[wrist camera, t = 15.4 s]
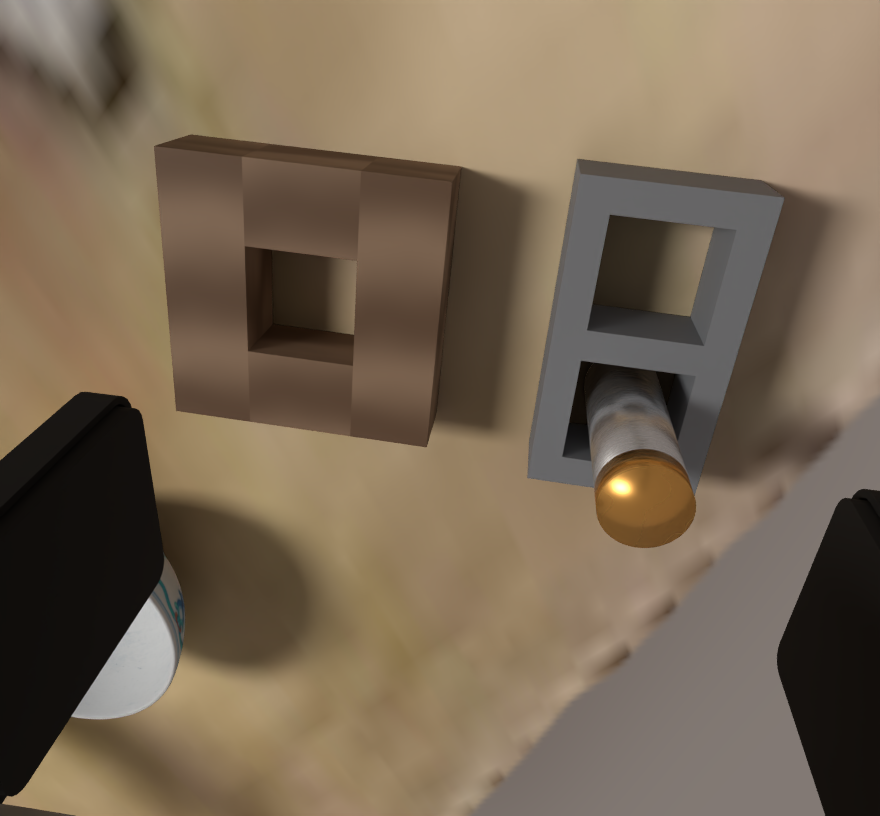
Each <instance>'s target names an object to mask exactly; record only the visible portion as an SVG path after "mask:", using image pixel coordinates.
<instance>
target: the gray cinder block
mask: <svg viewBox="0 0 880 816" xmlns="http://www.w3.org/2000/svg"><path fill="white" fill-rule="evenodd" d="M784 199H785V198H784V197H783V196H782V195H780V194H779V193H778V192H776V191H775V190H774V189H772V188H771V187H770V186H768V185H767V184H766V183H764V182H763V181H762V180H754V179H745V178H736V177H728V176H719V175H711V174H702V173H693V172H685V171H676V170H668V169H659V168H650V167H642V166H633V165H625V164H616V163H607V162H599V161H590V160H582V159H577V164H576V170H575V176H574V182H573V188H572V193H571V199H570V205H569V211H568V217H567V223H566V229H565V234H564V240H563V246H562V252H561V258H560V264H559V270H558V275H557V281H556V287H555V293H554V299H553V305H552V311H551V316H550V322H549V328H548V334H547V340H546V346H545V351H544V357H543V363H542V369H541V375H540V381H539V387H538V392H537V398H536V404H535V410H534V416H533V422H532V428H531V433H530V439H529V456H528V477H527V478H531V479H538V480H545V481H551V482H558V483H565V484H572V485H579V486H585V487H592V488H594V482H593V472H592V462H591V452H590V442H589V432H588V425H583V424H576V423H569V419H570V414H571V409H572V404H573V399H574V394H575V389H576V384H577V379H578V374H579V369H580V363H581V361H587V362H595V363H602V364H609V365H617V366H624V367H631V368H639V369H646V370H654V371H661V372H668V373H676V374H675V377H674V381H673V385H672V389H671V392H670V396H669V400H668V404H667V409H668V412H669V416H670V419H671V422H672V425H673V429H674V432H675V435H676V438H677V442H678V445H679V448H680V451H681V454H682V458H683V461H684V464H685V467H686V471H687V474H688V477H689V480H690V484H691V487H692V490H693V493H694V496H695V492H696V489H697V486H698V482H699V479H700V476H701V473H702V469H703V466H704V463H705V459H706V456H707V453H708V449H709V446H710V443H711V440H712V436H713V433H714V430H715V426H716V423H717V420H718V416H719V413H720V410H721V407H722V403H723V400H724V397H725V393H726V390H727V387H728V383H729V380H730V377H731V373H732V370H733V367H734V364H735V360H736V357H737V354H738V350H739V347H740V344H741V340H742V337H743V334H744V331H745V327H746V324H747V321H748V317H749V314H750V311H751V307H752V304H753V301H754V298H755V294H756V291H757V288H758V284H759V281H760V278H761V274H762V271H763V268H764V265H765V261H766V258H767V255H768V251H769V248H770V245H771V241H772V238H773V235H774V232H775V228H776V225H777V222H778V218H779V215H780V212H781V208H782V205H783V202H784ZM610 215H617V216H625V217H634V218H642V219H650V220H658V221H667V222H675V223H683V224H691V225H700V226H708V227H714V230H713V233H712V237H711V241H710V245H709V249H708V252H707V256H706V260H705V264H704V267H703V271H702V275H701V279H700V283H699V286H698V290H697V294H696V298H695V302H694V305H693V309H692V313H691V317H687V316H679V315H672V314H664V313H656V312H648V311H641V310H633V309H625V308H618V307H610V306H602V305H595V304H592V303H593V297H594V292H595V287H596V282H597V277H598V272H599V267H600V262H601V257H602V252H603V247H604V242H605V237H606V231H607V226H608V221H609V216H610Z"/></svg>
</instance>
